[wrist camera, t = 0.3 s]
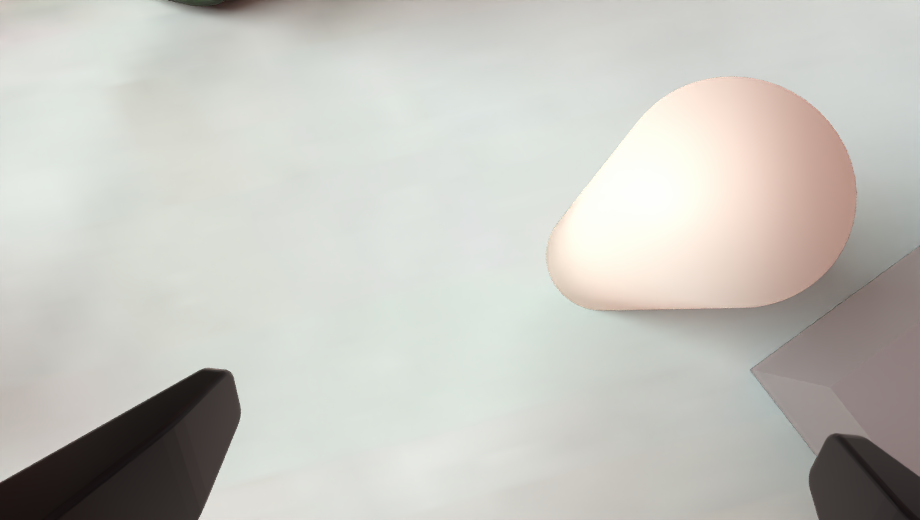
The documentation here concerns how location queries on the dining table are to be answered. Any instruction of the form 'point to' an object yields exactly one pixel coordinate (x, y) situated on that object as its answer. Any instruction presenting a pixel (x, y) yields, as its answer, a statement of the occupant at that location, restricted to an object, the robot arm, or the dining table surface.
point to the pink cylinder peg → (709, 204)
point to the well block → (857, 368)
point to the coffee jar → (199, 2)
